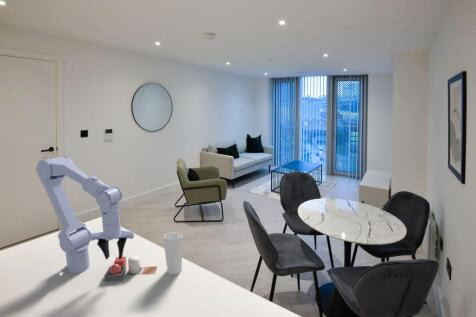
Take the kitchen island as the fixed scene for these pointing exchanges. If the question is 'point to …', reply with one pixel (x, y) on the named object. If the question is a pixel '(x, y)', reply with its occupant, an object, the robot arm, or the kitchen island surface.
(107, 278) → the pop dome base
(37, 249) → the kitchen island surface
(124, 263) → the red block with knob
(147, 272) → the game board
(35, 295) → the kitchen island surface
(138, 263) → the ivory pawn
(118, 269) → the pop dome
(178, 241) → the drinking glass
